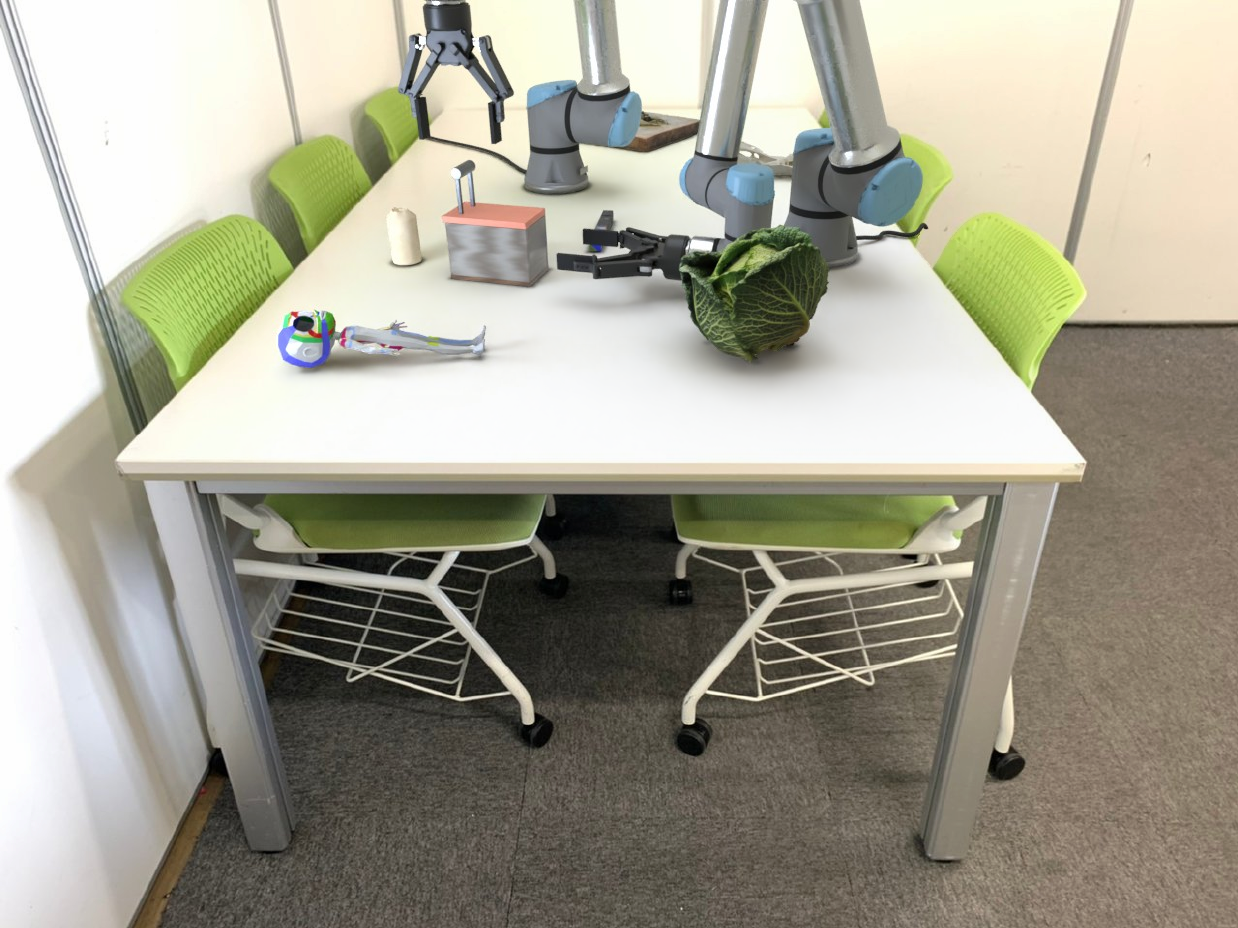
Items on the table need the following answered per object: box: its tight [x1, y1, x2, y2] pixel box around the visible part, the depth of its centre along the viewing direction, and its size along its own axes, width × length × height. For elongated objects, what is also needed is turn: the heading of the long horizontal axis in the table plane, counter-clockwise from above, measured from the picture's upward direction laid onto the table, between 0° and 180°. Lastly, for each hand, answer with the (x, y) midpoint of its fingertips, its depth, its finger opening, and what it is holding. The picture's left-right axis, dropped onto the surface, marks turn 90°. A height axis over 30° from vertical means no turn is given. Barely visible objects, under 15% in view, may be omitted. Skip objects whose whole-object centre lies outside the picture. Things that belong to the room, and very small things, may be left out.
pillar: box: [588, 209, 615, 252], centre depth 182 cm, size 2×2×20 cm
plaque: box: [612, 110, 700, 152], centre depth 257 cm, size 30×7×30 cm
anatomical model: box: [737, 141, 793, 176], centre depth 218 cm, size 15×9×25 cm
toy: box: [276, 309, 487, 369], centre depth 134 cm, size 10×8×30 cm
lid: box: [441, 159, 546, 229], centre depth 157 cm, size 16×9×9 cm, turn 72°
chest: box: [444, 214, 550, 288], centre depth 162 cm, size 16×9×10 cm, turn 72°
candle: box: [385, 207, 423, 266], centre depth 169 cm, size 6×6×10 cm
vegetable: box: [679, 224, 830, 364], centre depth 132 cm, size 20×19×20 cm
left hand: (460, 140), depth 154 cm, fingers open, 13 cm apart
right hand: (570, 248), depth 157 cm, fingers open, 13 cm apart
